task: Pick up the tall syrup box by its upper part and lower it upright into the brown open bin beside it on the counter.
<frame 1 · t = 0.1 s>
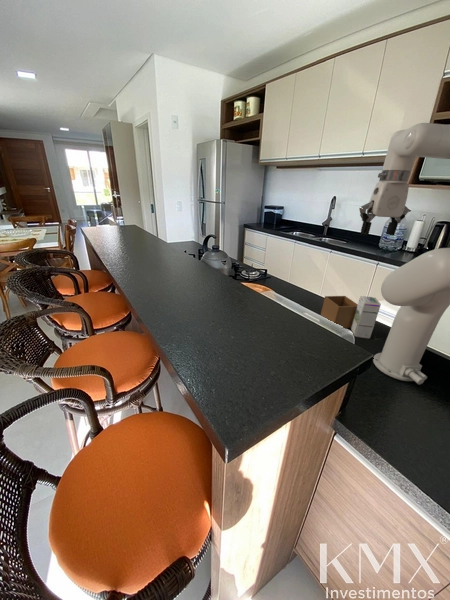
hand: (377, 234, 84), 37 cm above the counter, tool pointing down, fingers open, 9 cm apart
brown open bin: (336, 321, 103), on the counter
syrup box: (359, 334, 95), on the counter
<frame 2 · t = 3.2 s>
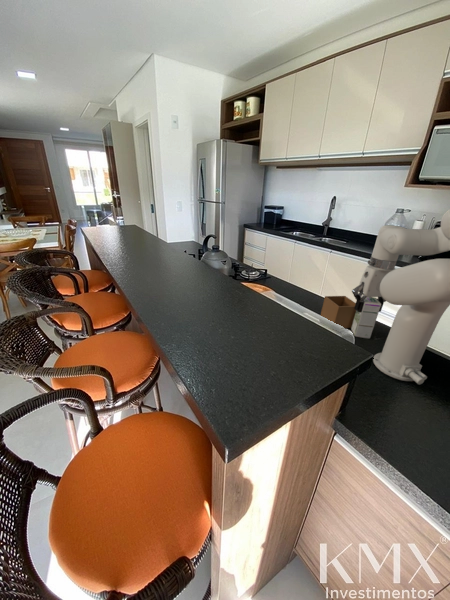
hand: (367, 310, 91), 10 cm above the counter, tool pointing down, fingers closed on syrup box, 7 cm apart
syrup box: (359, 334, 95), on the counter, touching gripper
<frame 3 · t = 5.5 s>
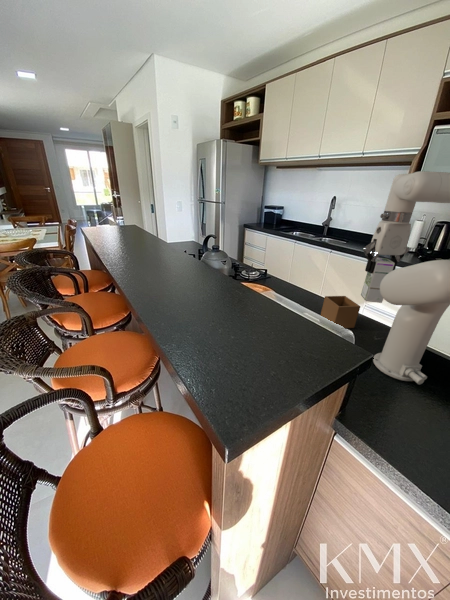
hand: (379, 271, 85), 25 cm above the counter, tool pointing down, fingers closed on syrup box, 7 cm apart
syrup box: (370, 299, 89), point 15 cm above the counter, touching gripper
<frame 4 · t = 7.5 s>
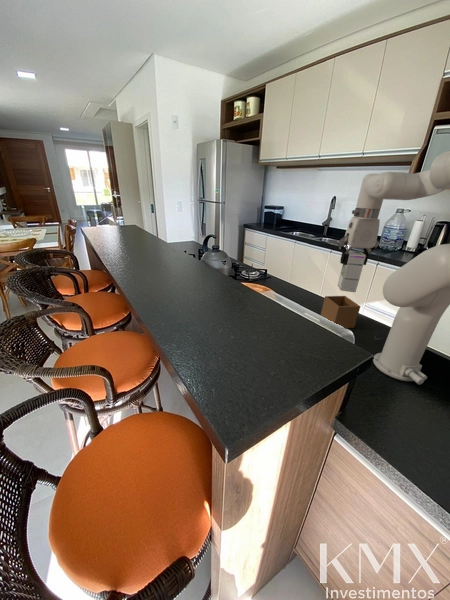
hand: (352, 263, 92), 25 cm above the counter, tool pointing down, fingers closed on syrup box, 7 cm apart
syrup box: (345, 289, 97), point 15 cm above the counter, touching gripper
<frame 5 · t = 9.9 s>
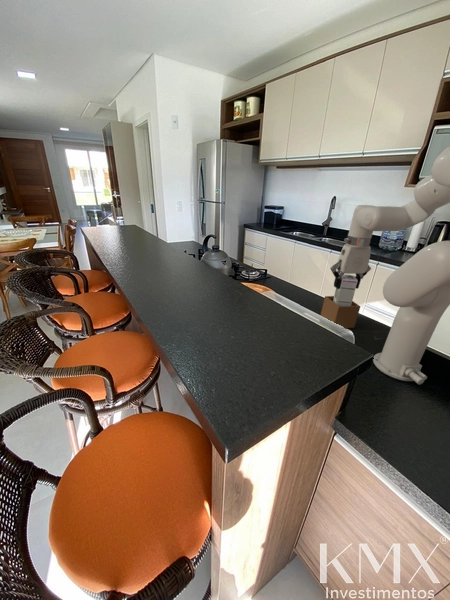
hand: (345, 287, 97), 16 cm above the counter, tool pointing down, fingers closed on syrup box, 7 cm apart
syrup box: (339, 310, 101), point 5 cm above the counter, touching gripper
when the fingers open (11 cm above the counter, at t = 11.9 s): syrup box stays where it is, resting on brown open bin.
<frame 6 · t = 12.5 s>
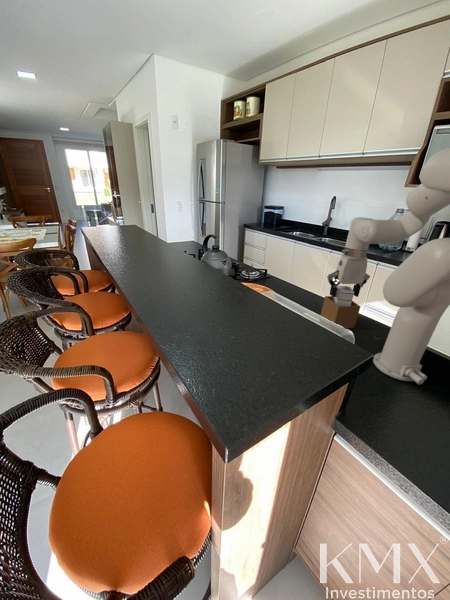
hand: (343, 295, 98), 12 cm above the counter, tool pointing down, fingers open, 9 cm apart
syrup box: (336, 321, 103), resting on brown open bin
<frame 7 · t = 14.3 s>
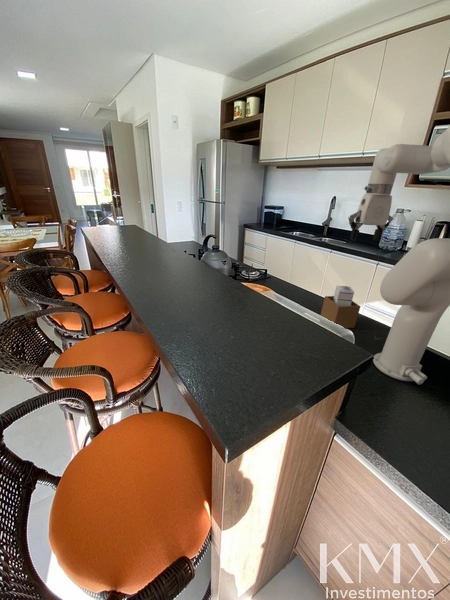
hand: (364, 240, 92), 33 cm above the counter, tool pointing down, fingers open, 9 cm apart
nothing on the counter moved.
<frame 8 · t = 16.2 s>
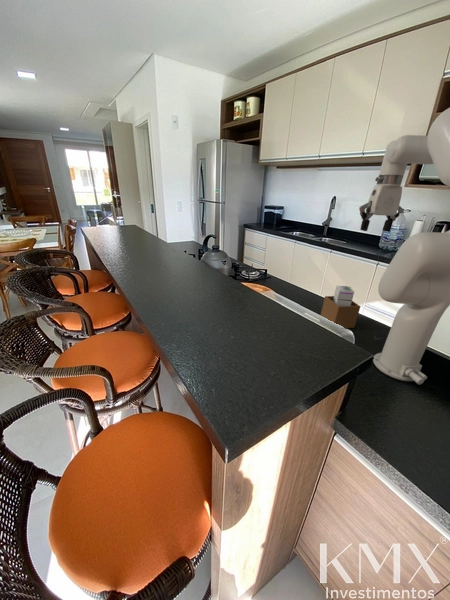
hand: (374, 230, 95), 36 cm above the counter, tool pointing down, fingers open, 9 cm apart
nothing on the counter moved.
at the end: syrup box 0.0 cm off-centre in the brown open bin, point 0.4 cm above the brown open bin's base; syrup box tilted 0°; the gripper is holding nothing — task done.
